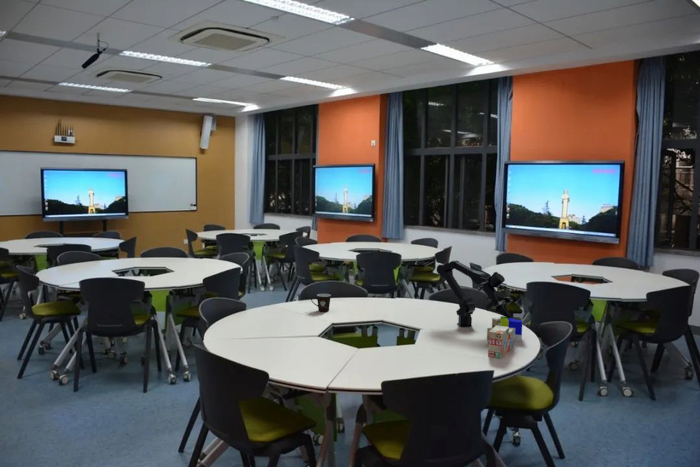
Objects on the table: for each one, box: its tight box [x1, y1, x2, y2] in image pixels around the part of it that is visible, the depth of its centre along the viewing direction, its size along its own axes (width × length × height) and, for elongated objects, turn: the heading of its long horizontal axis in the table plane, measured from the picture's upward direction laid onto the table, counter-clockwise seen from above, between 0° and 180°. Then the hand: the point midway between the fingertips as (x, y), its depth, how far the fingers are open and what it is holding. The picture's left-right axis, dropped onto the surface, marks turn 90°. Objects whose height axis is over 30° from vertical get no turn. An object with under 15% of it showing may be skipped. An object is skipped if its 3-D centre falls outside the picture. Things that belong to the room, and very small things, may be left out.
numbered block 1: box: [491, 317, 501, 328], centre depth 289 cm, size 5×5×6 cm
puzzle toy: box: [499, 315, 523, 342], centre depth 274 cm, size 10×10×10 cm
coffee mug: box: [310, 293, 332, 313], centre depth 328 cm, size 12×9×10 cm
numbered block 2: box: [486, 327, 493, 341], centre depth 268 cm, size 5×5×6 cm
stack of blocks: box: [487, 325, 514, 360], centre depth 250 cm, size 21×6×12 cm, turn 149°
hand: (508, 316), depth 276 cm, fingers closed
